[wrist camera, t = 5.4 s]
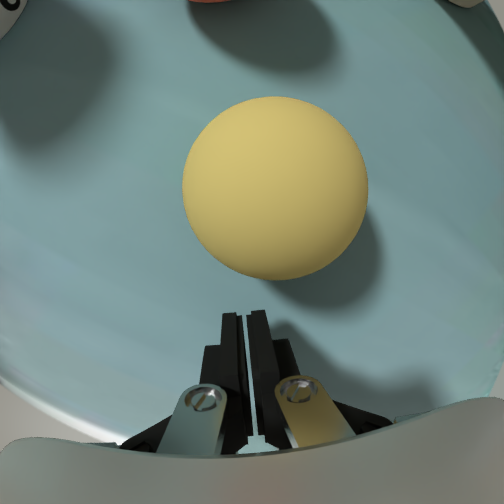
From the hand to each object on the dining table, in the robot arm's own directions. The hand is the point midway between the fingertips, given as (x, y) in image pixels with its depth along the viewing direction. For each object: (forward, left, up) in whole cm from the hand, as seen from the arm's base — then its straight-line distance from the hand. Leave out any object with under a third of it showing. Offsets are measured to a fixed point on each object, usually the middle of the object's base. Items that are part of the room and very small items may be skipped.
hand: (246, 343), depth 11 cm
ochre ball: (+3, +6, +1) cm, 6 cm away
